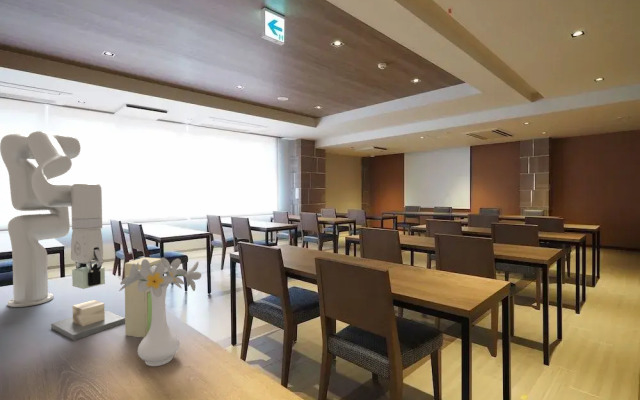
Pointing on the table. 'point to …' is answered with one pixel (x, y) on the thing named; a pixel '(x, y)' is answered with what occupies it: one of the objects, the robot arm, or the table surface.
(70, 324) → the base plate
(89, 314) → the birch block
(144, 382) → the table surface
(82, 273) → the sage block
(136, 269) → the flower vase
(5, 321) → the table surface
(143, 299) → the toy refrigerator
